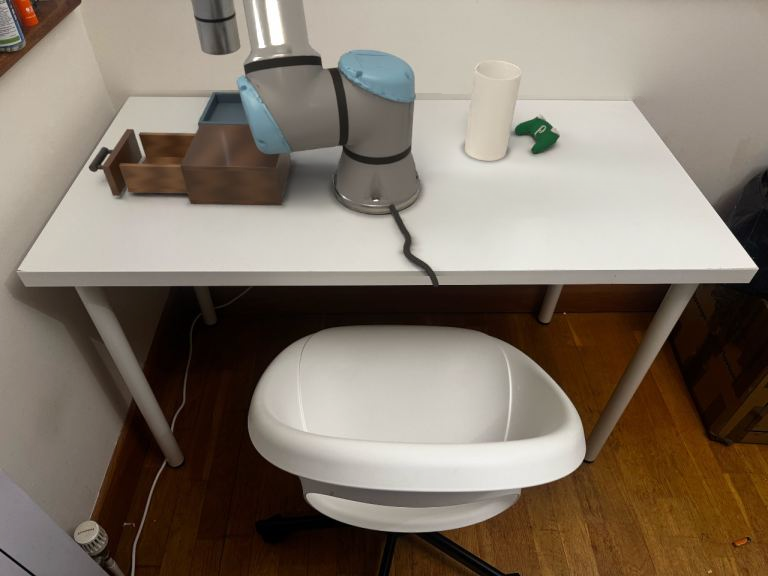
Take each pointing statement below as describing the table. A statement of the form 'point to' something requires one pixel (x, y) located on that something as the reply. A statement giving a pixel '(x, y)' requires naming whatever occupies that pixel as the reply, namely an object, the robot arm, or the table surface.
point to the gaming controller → (539, 132)
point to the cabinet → (233, 168)
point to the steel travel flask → (216, 26)
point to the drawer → (145, 163)
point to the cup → (492, 109)
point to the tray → (224, 110)
